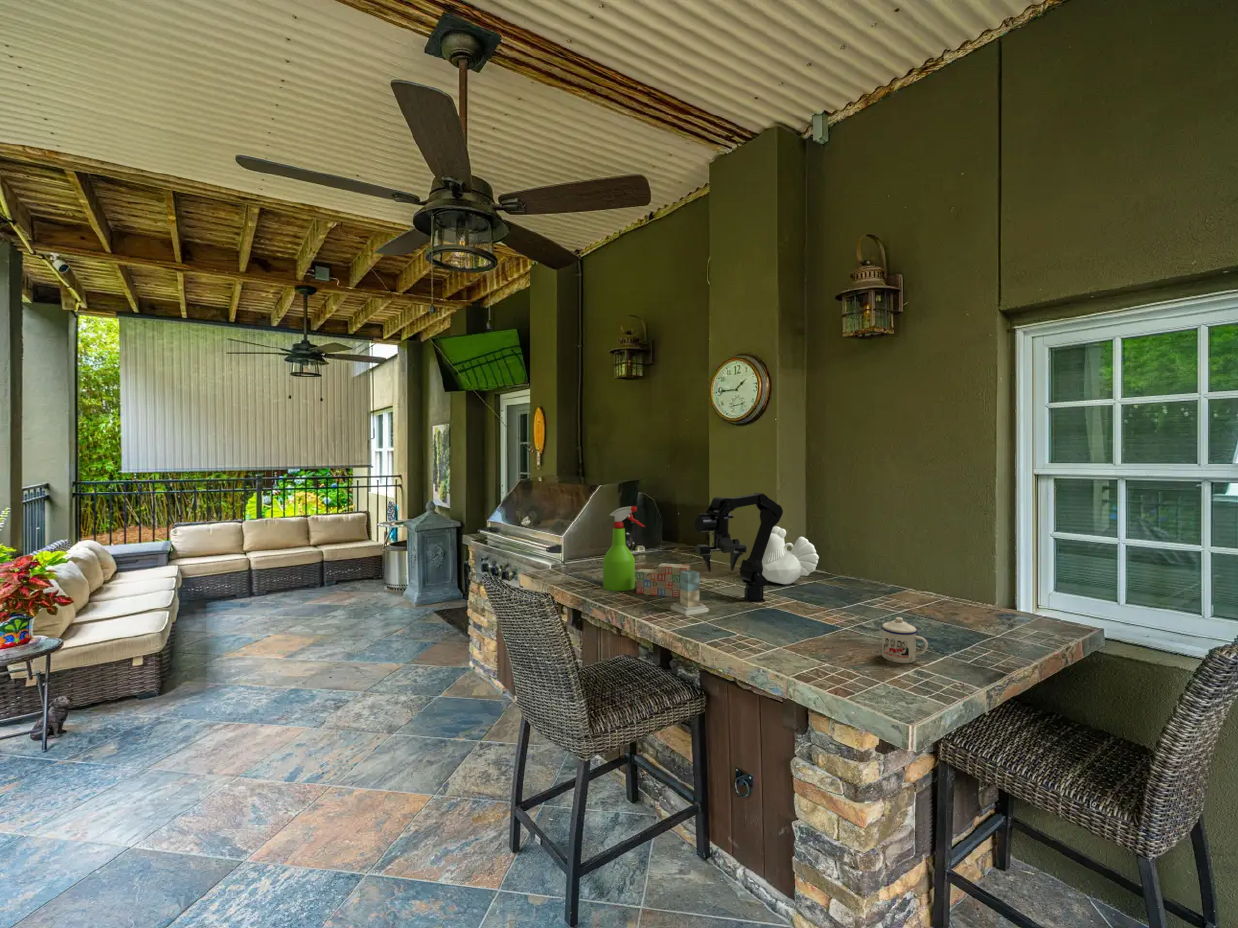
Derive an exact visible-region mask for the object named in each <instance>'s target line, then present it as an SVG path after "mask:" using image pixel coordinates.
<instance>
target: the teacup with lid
mask: <svg viewBox="0 0 1238 928" xmlns="http://www.w3.org/2000/svg"><path fill="white" fill-rule="evenodd" d="M881 629H882V635H881V637H882V639H881V640H882V643H881V644H882V645H881V649H882V650H881V656H882V657H883V658H884V659H885V660H886V661H889V662H892V663H898V664H910V663H914V662H915V661H916V655H922V654H925V652H926V651H927V649H928V646H929V643H928V640H926V638H924V637H923V636H919V635H917V633H918V632H917V631H918V630H917V629H916V627H915V626H913V625H911V624H910V623H908V622H906V621H904V619H903V618H902V617H901V616H900V617H895V619H894V620H891V621H888V622H884V623H883V624H882V625H881ZM916 640H920V641H922V642H923V644H924V648H923V649H922V650H916V648H917V647H916V644H917V643H916Z"/></svg>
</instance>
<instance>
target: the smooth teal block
mask: <svg viewBox="0 0 1238 928" xmlns="http://www.w3.org/2000/svg"><path fill="white" fill-rule="evenodd" d="M679 602H680V605H681V606H684V607H686V608H690V607H696V606H699V603H700V572H698V571H695V570H693V569H690V570H689V571H680V597H679Z"/></svg>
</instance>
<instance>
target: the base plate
mask: <svg viewBox="0 0 1238 928" xmlns="http://www.w3.org/2000/svg"><path fill="white" fill-rule="evenodd" d="M709 609H710V608H708V607H707V605H705V604H703V603H700V602H699V606H696V607H690V608H686V607H684V606H681V605H680V601H678V602H673V604H672V605H670V610H673V611H675V612H677V613H680V614H681V615H684V616H692V615H697V614H703V613H708V612H709V611H710V610H709Z"/></svg>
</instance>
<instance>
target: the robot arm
mask: <svg viewBox="0 0 1238 928" xmlns="http://www.w3.org/2000/svg"><path fill="white" fill-rule="evenodd" d="M752 505H755V506H756V508H757V509H758V511H759V520H760V525H759V528H758V530H757V534H756V537H755V540H754V542H753V545H752V548H751V550H750V551H751V552H750V555H749V557H748V558H747V559H742V560H741V565H740V566H739V575H740V578H741V580H742V583H743V584H745V587H744V595H743V599H745V600H746V601H747V602H750V603H754V602H766V599H765V598H764V597H765V596H764V594H765V593H764V592H765V589H764V587H766V586H767V584H768V580H767V579H766V578H765V577H764V576H763V575H762V572H763V566H762V559H763V556H764V553H765V550H766V547H767V544H768V541H769V538H770V535H771V532H772V529H773V527H775V526H777V524H778V523H779V522H780V520H781V518H782V516H783V514H784V511H783V510H784V509H783V507H782V506H781V504H777V502H776V501H774V500H773V499H771V498H769V497H768V496H767V495H766V494H765V493H762V492H761V493H760V492H754V493H749V494H746V495H745V494H743V495H739V496H734V497H726V496H716V497H715V496H714V497H713V498H712V501H711V503H710V505H709V506H708V508H707V509H706V512H705V513H698V514H697V517H696V518H695V521H694V528H695V530H696V531H697V532H698V533H705V532H711V534H712V535H711V536H713V538H712V540H713V542H711V543H712V544H711V546H709V545H708V544H697V545H696V546H695V547H694V549H695V553H697V554H698V555H700V556H701V558H702V559H703V561H704V564H705V566H706V569H707V571H708V572H709V573H711V570H712V569H711V567H712V566H711V565H712V564H711V559H712V558H711V557H712V554H710V553H711V552H712V553H713V552H721V553H723V554H730V555H729V557H730V559H729V560H730V561H729V562H730V571H732V572H733V571H734V570H735V567H736V564H737V561H738V559H739V558H740V557H741V556H742V555H744V553H747V545H745V544H743V543H741V542H740V539H739V538H733V539H731V534H730V532H729V531H730V528H729V526H730V524H729V523H730V522H729V519H734V515H732V514H731V512H733V511H734V510H736V509H738V508H742V507H747V506H752Z"/></svg>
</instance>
